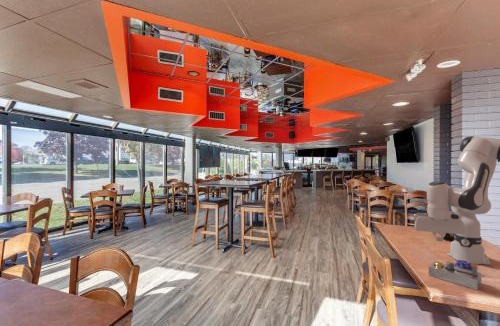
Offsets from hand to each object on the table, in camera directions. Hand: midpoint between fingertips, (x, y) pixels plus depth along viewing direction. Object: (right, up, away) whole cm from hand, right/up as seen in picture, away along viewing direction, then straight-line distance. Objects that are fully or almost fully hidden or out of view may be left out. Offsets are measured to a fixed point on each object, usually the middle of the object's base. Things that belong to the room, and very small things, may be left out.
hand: (439, 240), depth 123 cm
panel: (+3, -17, -4) cm, 18 cm away
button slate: (+3, -13, -4) cm, 14 cm away
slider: (+8, -12, -11) cm, 18 cm away
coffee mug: (+49, -17, +56) cm, 77 cm away
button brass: (0, -15, 0) cm, 15 cm away
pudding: (+16, -18, +4) cm, 24 cm away
